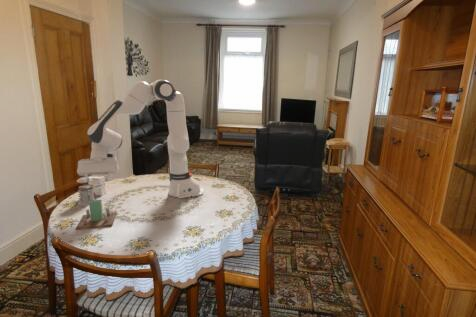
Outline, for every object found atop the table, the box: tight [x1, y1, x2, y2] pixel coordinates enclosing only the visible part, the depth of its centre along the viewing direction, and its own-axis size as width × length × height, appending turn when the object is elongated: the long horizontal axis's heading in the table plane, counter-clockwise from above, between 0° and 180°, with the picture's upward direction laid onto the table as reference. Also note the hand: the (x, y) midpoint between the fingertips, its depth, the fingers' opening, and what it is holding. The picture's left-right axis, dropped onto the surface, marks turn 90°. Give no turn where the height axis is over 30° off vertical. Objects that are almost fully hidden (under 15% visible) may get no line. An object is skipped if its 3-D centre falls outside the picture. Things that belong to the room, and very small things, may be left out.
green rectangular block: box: [88, 199, 104, 221], centre depth 145 cm, size 5×3×10 cm, turn 105°
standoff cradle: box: [75, 207, 117, 231], centre depth 146 cm, size 16×14×5 cm
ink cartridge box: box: [87, 174, 107, 197], centre depth 179 cm, size 9×5×15 cm, turn 84°
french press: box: [76, 176, 96, 207], centre depth 165 cm, size 10×12×25 cm
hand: (97, 181), depth 151 cm, fingers open, 8 cm apart
